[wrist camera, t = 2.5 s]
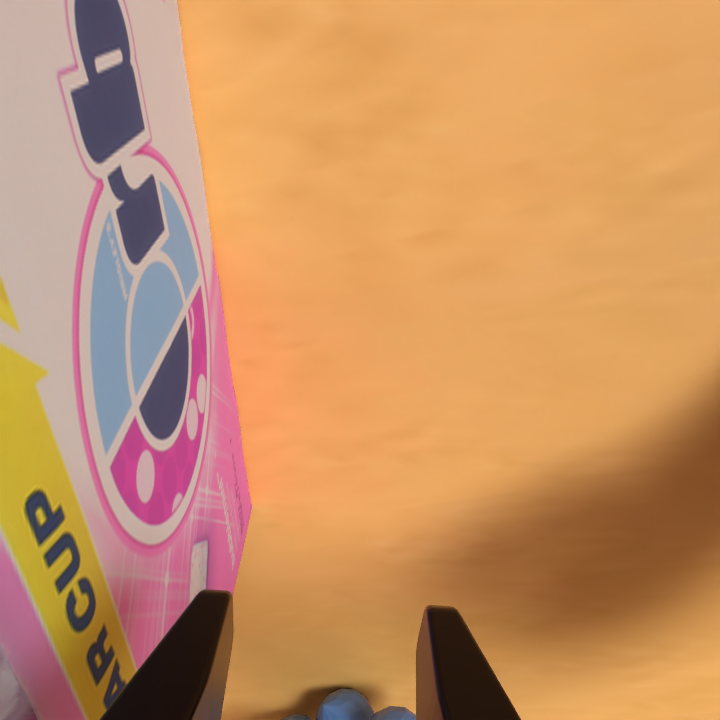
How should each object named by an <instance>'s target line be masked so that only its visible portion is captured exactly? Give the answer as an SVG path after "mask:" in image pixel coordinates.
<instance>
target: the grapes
mask: <svg viewBox="0 0 720 720" xmlns="http://www.w3.org/2000/svg"><path fill="white" fill-rule="evenodd" d="M281 720H312V719H310V718H309V717H308V716H307V715H298V714H292V715H290V716H288V717H285V718H283V719H281ZM316 720H416V715H415V714H413V713H412V712H411V711H409V710H408V709H406V708H405V707H395V706H389V707H387V708H385V709H383V710H380V711H378V712H377V713H375V714H374V711H373V709H372V707H371V705H370V703H369V701H368V699H367V698H366V697H365V696H363V695H362V694H360V693H359V692H358V691H356V690H352V689H339V690H337V691H335V692H333V693H330V694H329V695H328V696H326V697H325V699H324V700H323V701H322V702H321V703H320V705H319V708H318V711H317V714H316Z"/></svg>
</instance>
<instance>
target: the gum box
mask: <svg viewBox="0 0 720 720" xmlns="http://www.w3.org/2000/svg"><path fill="white" fill-rule="evenodd" d="M251 509H252V505H251V501H250V494H249V487H248V481H247V475H246V469H245V462H244V456H243V450H242V443H241V433H240V425H239V417H238V409H237V402H236V396H235V392H234V387H233V382H232V374H231V367H230V360H229V354H228V347H227V339H226V329H225V320H224V313H223V305H222V298H221V291H220V283H219V276H218V273H217V270H216V264H215V258H214V251H213V244H212V238H211V231H210V224H209V218H208V211H207V202H206V194H205V186H204V179H203V172H202V165H201V159H200V152H199V146H198V140H197V134H196V129H195V124H194V118H193V111H192V105H191V98H190V91H189V85H188V79H187V73H186V67H185V61H184V53H183V44H182V35H181V26H180V19H179V12H178V5H177V0H0V720H99V719H100V718H101V717H102V716H103V714H104V713H105V712H106V710H107V709H108V708H109V707H110V705H111V704H112V703H113V701H114V700H115V699H116V698H117V696H118V695H119V694H120V692H121V691H122V690H123V689H124V687H125V686H126V685H127V683H128V682H129V681H130V680H131V678H132V677H133V676H134V674H135V673H136V672H137V671H138V669H139V668H140V667H141V665H142V664H143V663H144V662H145V660H146V659H147V658H148V656H149V655H150V654H151V653H152V651H153V650H154V649H155V647H156V646H157V645H158V644H159V642H160V641H161V640H162V638H163V637H164V636H165V635H166V633H167V632H168V631H169V629H170V628H171V627H172V626H173V624H174V623H175V622H176V620H177V619H178V618H179V617H180V615H181V614H182V613H183V612H184V610H185V609H186V608H187V606H188V605H189V604H190V603H191V601H192V600H193V599H194V597H195V596H196V595H197V594H198V593H199V592H200V591H201V590H203V589H214V590H227V591H230V592H231V594H232V596H233V591H234V587H235V582H236V578H237V574H238V569H239V565H240V560H241V556H242V551H243V547H244V542H245V537H246V533H247V528H248V523H249V518H250V514H251Z"/></svg>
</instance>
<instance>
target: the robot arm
mask: <svg viewBox="0 0 720 720" xmlns="http://www.w3.org/2000/svg"><path fill="white" fill-rule="evenodd" d="M232 642H233V597H232V594H231V592H230V591H227V590H214V589H203V590H201V591H200V592H199V593H198V594H197V595H196V596H195V597H194V599H193V600H192V601H191V603H190V604H189V605H188V606H187V608H186V609H185V610H184V612H183V613H182V614H181V615H180V617H179V618H178V619H177V620H176V622H175V623H174V624H173V626H172V627H171V628H170V629H169V631H168V632H167V633H166V635H165V636H164V637H163V638H162V640H161V641H160V642H159V644H158V645H157V646H156V647H155V649H154V650H153V651H152V653H151V654H150V655H149V656H148V658H147V659H146V660H145V662H144V663H143V664H142V665H141V667H140V668H139V669H138V671H137V672H136V673H135V674H134V676H133V677H132V678H131V680H130V681H129V682H128V683H127V685H126V686H125V687H124V689H123V690H122V691H121V692H120V694H119V695H118V696H117V698H116V699H115V700H114V701H113V703H112V704H111V705H110V707H109V708H108V709H107V710H106V712H105V713H104V714H103V716H102V717H101V718H100V719H99V720H220V719H221V713H222V707H223V700H224V694H225V688H226V681H227V675H228V668H229V662H230V656H231V649H232ZM416 720H521V719H520V717H519V715H518V714H517V712H516V710H515V708H514V707H513V705H512V703H511V701H510V700H509V698H508V696H507V695H506V693H505V691H504V689H503V688H502V686H501V684H500V682H499V681H498V679H497V677H496V675H495V674H494V672H493V670H492V669H491V667H490V665H489V663H488V662H487V660H486V658H485V656H484V655H483V653H482V651H481V649H480V648H479V646H478V644H477V643H476V641H475V639H474V637H473V636H472V634H471V632H470V630H469V629H468V627H467V625H466V623H465V622H464V620H463V618H462V617H461V615H460V613H459V612H458V611H457V609H455V608H454V607H449V606H436V605H429V606H427V607H426V608H425V610H424V613H423V618H422V623H421V628H420V632H419V637H418V642H417V650H416Z"/></svg>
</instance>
